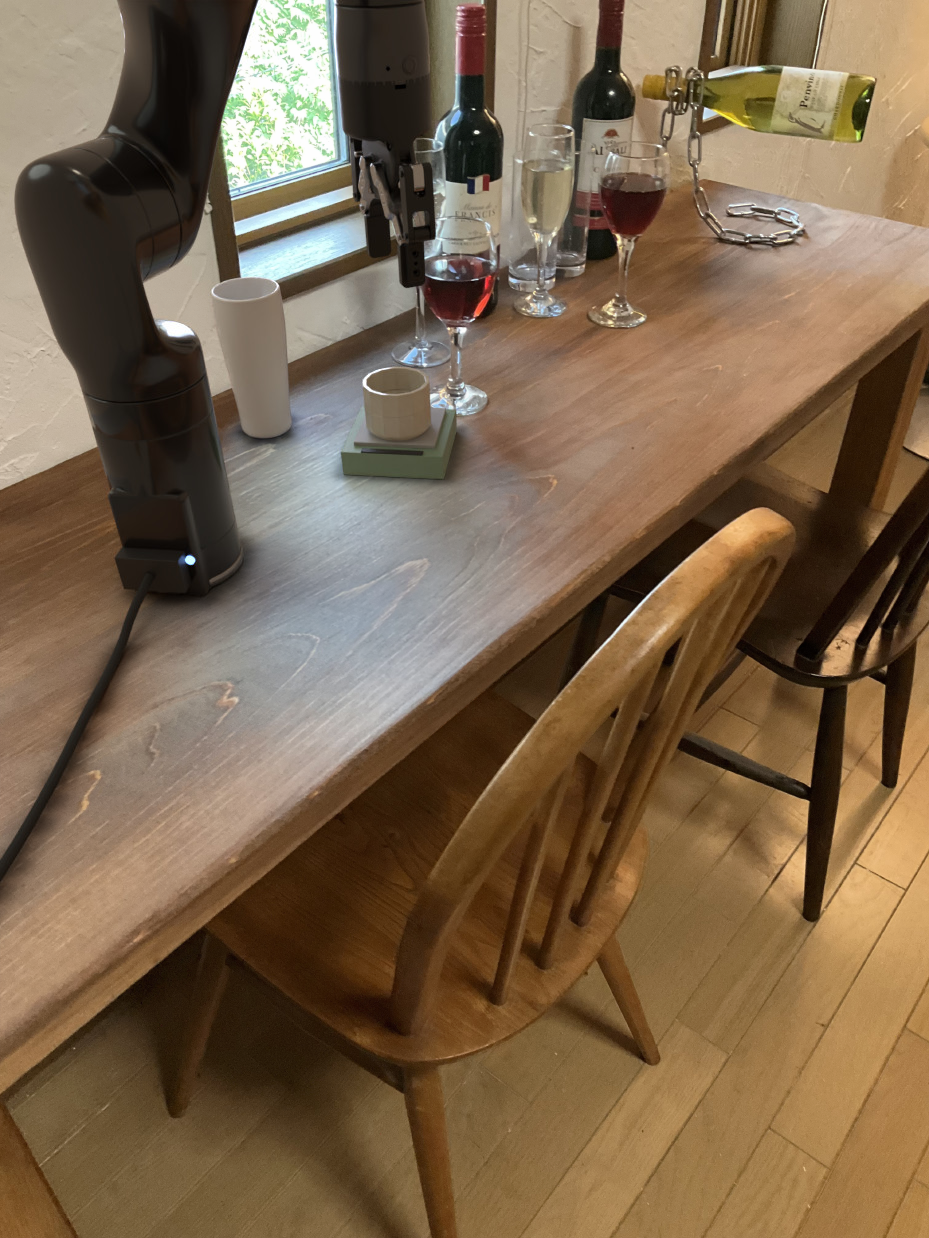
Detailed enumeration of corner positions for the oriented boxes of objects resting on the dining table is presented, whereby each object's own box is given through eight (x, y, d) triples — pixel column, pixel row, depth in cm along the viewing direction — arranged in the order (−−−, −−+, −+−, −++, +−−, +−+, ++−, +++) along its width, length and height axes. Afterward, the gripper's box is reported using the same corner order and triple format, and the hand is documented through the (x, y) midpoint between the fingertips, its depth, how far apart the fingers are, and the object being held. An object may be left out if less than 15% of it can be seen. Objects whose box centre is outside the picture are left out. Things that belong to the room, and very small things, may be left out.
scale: (443, 479, 93) (442, 453, 91) (343, 474, 94) (340, 448, 92) (456, 431, 101) (456, 405, 99) (363, 426, 102) (361, 401, 100)
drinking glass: (294, 444, 99) (273, 301, 90) (229, 444, 99) (202, 301, 90) (304, 413, 105) (285, 276, 95) (242, 414, 105) (218, 276, 95)
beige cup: (426, 444, 93) (423, 397, 90) (359, 441, 93) (355, 394, 90) (436, 414, 98) (434, 368, 95) (373, 411, 98) (369, 365, 95)
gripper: (312, 58, 81) (332, 253, 91) (368, 88, 71) (383, 304, 81) (395, 51, 83) (405, 241, 94) (461, 79, 73) (464, 289, 83)
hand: (395, 270), depth 87 cm, fingers open, 8 cm apart
